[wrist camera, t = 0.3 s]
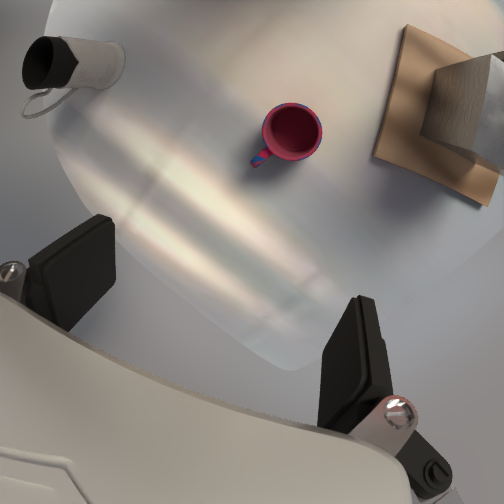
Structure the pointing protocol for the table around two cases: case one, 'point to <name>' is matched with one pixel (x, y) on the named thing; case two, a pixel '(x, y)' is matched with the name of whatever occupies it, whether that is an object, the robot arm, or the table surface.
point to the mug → (289, 133)
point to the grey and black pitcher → (70, 66)
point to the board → (412, 115)
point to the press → (469, 110)
